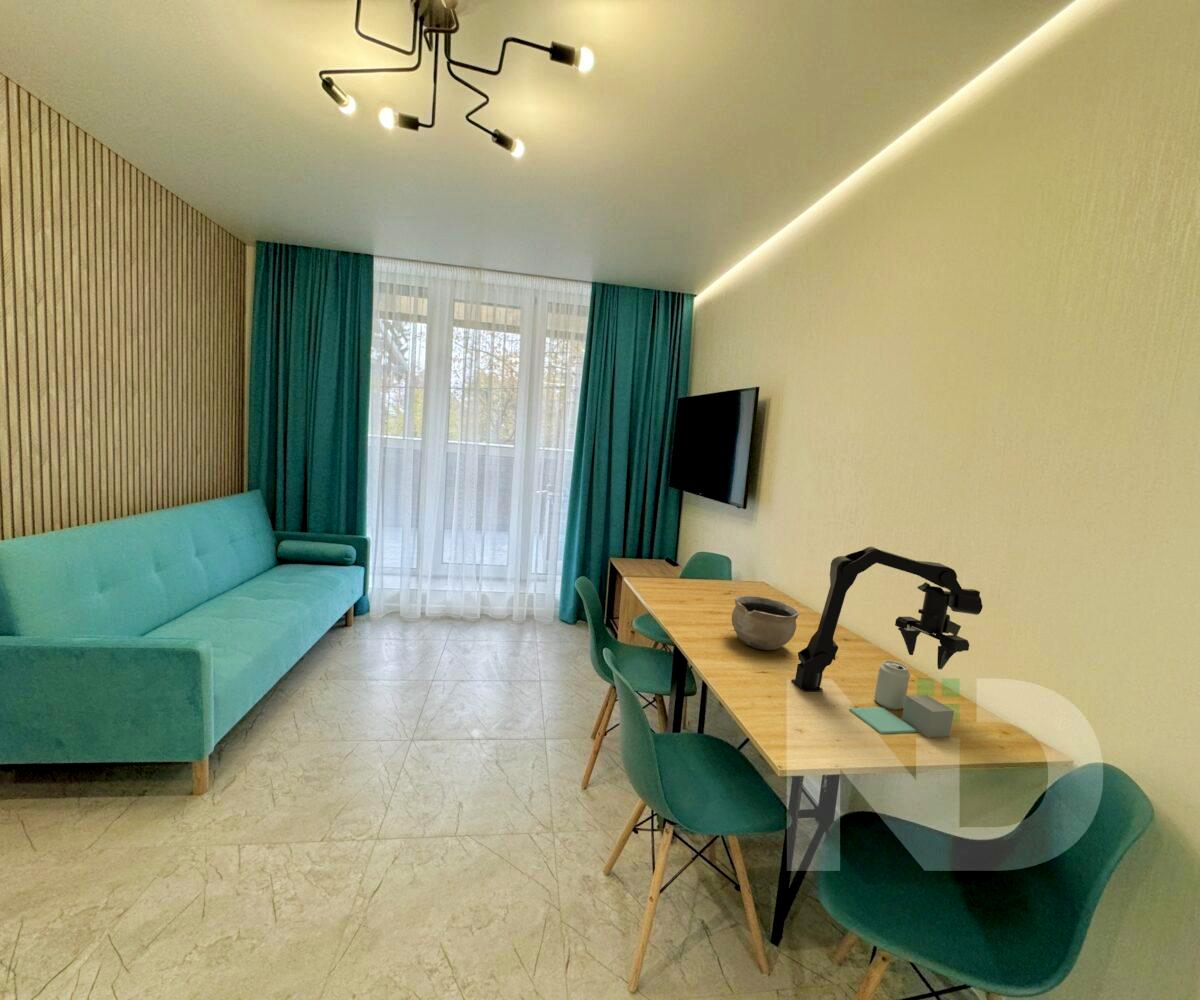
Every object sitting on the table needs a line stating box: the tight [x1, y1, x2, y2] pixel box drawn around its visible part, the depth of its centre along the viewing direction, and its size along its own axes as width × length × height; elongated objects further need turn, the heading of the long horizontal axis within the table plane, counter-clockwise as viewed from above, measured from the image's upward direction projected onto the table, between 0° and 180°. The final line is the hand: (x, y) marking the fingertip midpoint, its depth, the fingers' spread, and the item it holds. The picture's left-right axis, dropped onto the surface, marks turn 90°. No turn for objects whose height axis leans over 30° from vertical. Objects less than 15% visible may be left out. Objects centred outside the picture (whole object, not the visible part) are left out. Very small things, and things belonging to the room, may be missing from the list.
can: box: [873, 659, 911, 711], centre depth 144 cm, size 8×8×12 cm
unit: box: [901, 694, 955, 739], centre depth 133 cm, size 7×8×7 cm
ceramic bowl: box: [731, 595, 800, 651], centre depth 179 cm, size 22×22×15 cm
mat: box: [849, 706, 917, 735], centre depth 134 cm, size 11×11×1 cm
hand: (925, 661), depth 144 cm, fingers open, 9 cm apart
